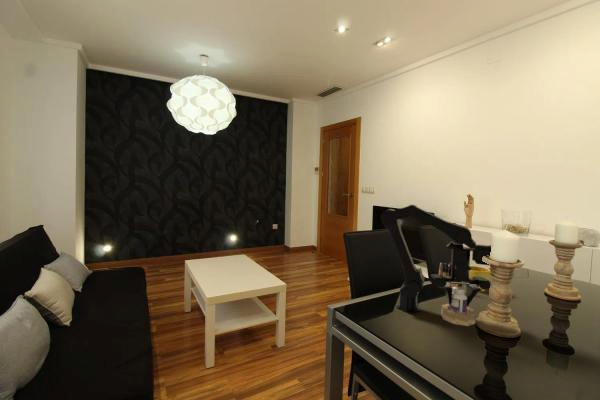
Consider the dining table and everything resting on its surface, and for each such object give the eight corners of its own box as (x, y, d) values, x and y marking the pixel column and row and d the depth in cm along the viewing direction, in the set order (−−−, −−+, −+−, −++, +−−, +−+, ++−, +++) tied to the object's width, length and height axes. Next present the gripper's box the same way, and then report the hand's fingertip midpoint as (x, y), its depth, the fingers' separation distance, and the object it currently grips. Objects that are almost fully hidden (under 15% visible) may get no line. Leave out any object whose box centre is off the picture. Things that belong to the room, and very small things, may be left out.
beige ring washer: (463, 327, 100) (463, 317, 100) (436, 316, 108) (436, 306, 108) (479, 321, 105) (480, 311, 105) (453, 311, 113) (453, 301, 113)
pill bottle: (462, 312, 109) (463, 286, 108) (469, 318, 104) (470, 291, 103) (446, 311, 109) (448, 285, 109) (452, 317, 104) (454, 290, 104)
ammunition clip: (463, 292, 134) (464, 266, 133) (462, 293, 132) (463, 267, 132) (438, 286, 141) (439, 261, 141) (437, 287, 140) (438, 262, 139)
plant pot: (458, 287, 141) (459, 266, 141) (472, 284, 145) (473, 264, 145) (479, 294, 132) (480, 272, 131) (494, 291, 136) (495, 270, 136)
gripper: (477, 257, 112) (475, 298, 113) (426, 255, 115) (424, 295, 115) (493, 265, 101) (490, 310, 102) (435, 262, 104) (433, 306, 104)
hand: (458, 305), depth 106 cm, fingers closed on pill bottle, 5 cm apart
